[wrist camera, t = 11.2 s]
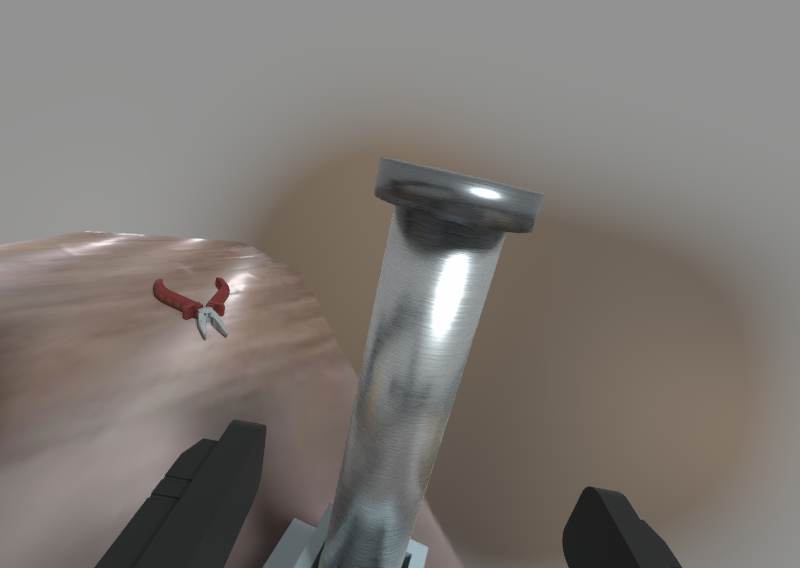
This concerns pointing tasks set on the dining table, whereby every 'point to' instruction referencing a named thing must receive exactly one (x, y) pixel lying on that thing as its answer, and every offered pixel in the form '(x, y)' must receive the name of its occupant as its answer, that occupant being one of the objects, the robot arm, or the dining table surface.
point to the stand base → (322, 546)
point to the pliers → (197, 305)
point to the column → (416, 349)
